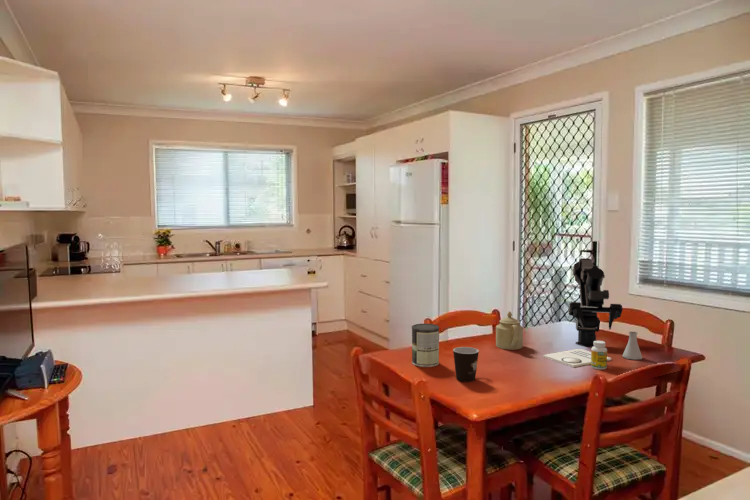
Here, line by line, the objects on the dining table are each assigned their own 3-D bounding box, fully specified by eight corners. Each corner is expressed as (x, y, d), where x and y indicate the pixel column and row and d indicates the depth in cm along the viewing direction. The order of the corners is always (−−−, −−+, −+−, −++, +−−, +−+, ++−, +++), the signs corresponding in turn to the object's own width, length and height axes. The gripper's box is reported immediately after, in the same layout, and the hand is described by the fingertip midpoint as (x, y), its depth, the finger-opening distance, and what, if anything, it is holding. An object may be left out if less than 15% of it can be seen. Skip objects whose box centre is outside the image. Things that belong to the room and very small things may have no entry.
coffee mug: (461, 384, 173) (462, 355, 172) (448, 376, 181) (448, 348, 180) (490, 379, 177) (491, 350, 177) (476, 372, 185) (476, 344, 185)
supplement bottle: (600, 365, 193) (601, 339, 193) (610, 369, 188) (610, 343, 187) (587, 366, 192) (588, 340, 191) (597, 370, 187) (597, 344, 186)
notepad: (543, 357, 204) (543, 354, 204) (579, 350, 213) (579, 348, 213) (573, 367, 191) (573, 364, 191) (611, 360, 200) (611, 357, 199)
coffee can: (406, 363, 197) (406, 326, 196) (423, 357, 204) (423, 322, 203) (427, 369, 190) (427, 331, 189) (444, 363, 197) (444, 326, 196)
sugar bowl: (535, 350, 214) (535, 314, 213) (514, 353, 209) (515, 316, 208) (510, 341, 227) (510, 307, 226) (490, 345, 222) (490, 310, 221)
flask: (645, 360, 198) (646, 334, 198) (624, 359, 200) (625, 334, 199) (639, 355, 205) (640, 330, 205) (619, 354, 207) (620, 329, 206)
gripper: (570, 281, 202) (572, 315, 192) (622, 283, 197) (627, 317, 188) (567, 298, 210) (569, 331, 201) (617, 300, 206) (622, 334, 196)
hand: (596, 328), depth 196 cm, fingers open, 9 cm apart
